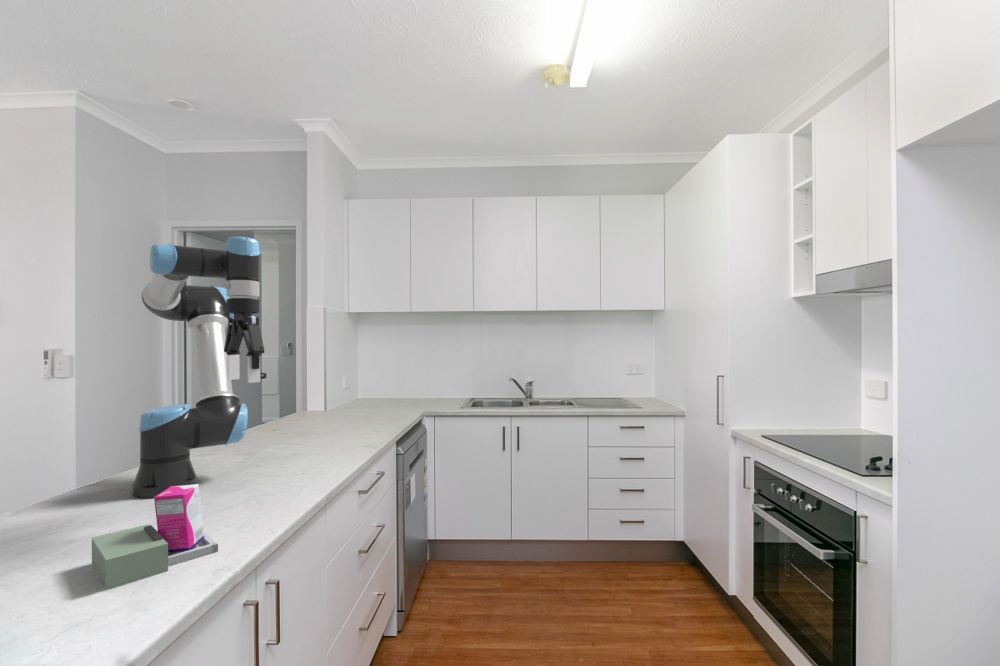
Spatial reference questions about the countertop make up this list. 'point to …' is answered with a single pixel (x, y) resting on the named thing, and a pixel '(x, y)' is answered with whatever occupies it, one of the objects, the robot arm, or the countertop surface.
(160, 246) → the robot arm
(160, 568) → the sliding drawer box
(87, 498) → the countertop surface
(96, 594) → the countertop surface
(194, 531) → the supplement box
